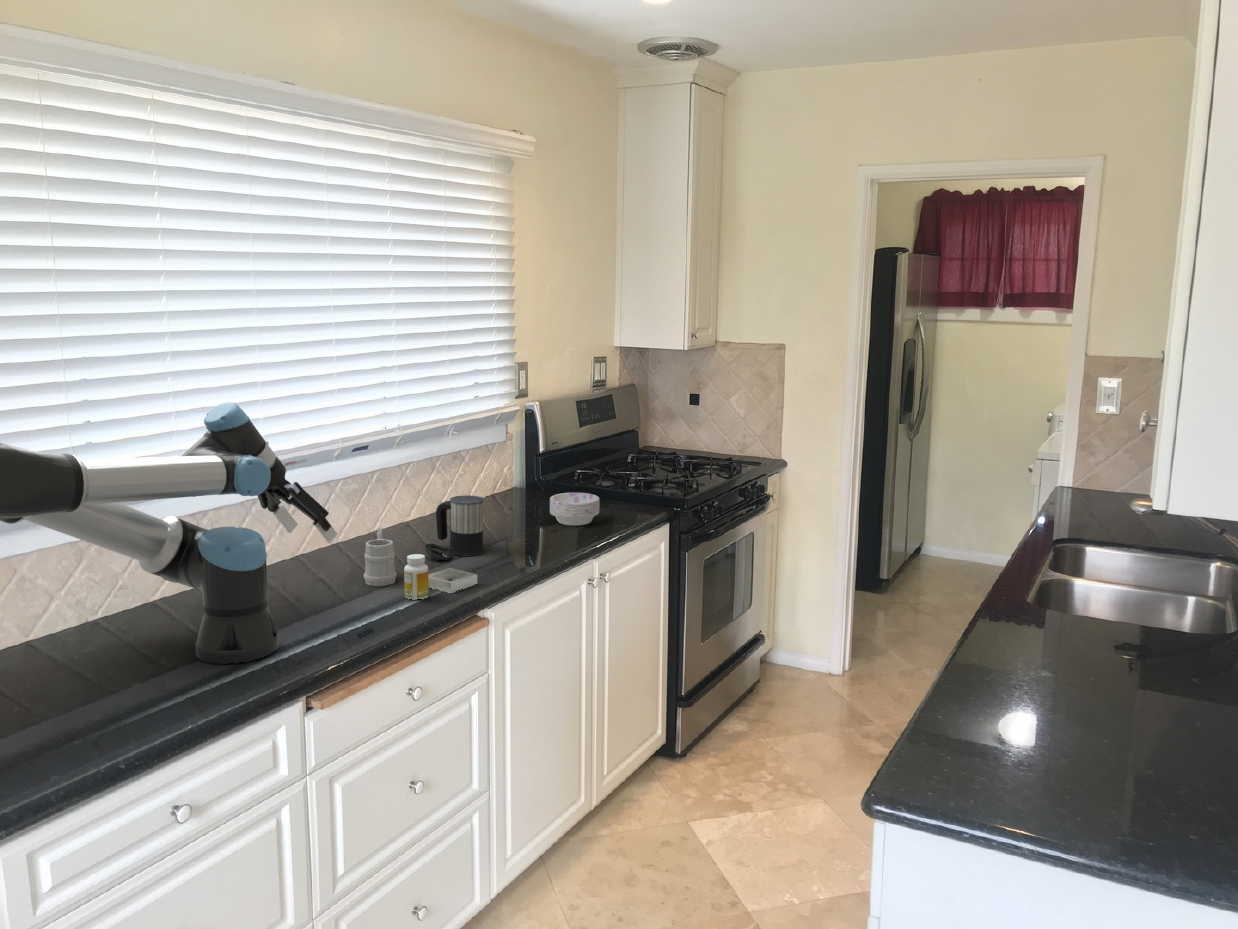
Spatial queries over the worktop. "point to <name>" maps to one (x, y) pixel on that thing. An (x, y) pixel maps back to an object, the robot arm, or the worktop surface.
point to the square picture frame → (459, 579)
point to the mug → (379, 561)
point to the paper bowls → (574, 508)
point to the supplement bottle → (416, 577)
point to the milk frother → (459, 527)
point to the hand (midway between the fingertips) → (312, 533)
